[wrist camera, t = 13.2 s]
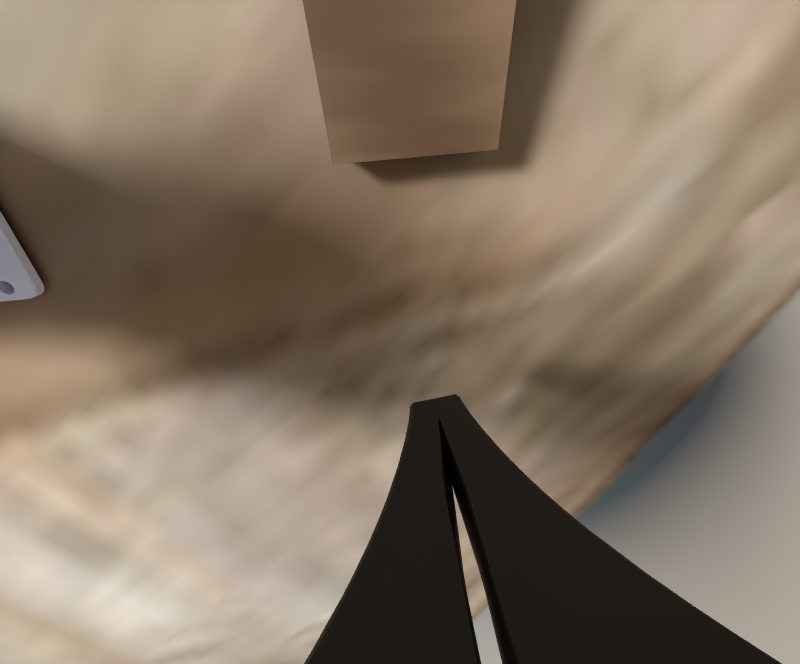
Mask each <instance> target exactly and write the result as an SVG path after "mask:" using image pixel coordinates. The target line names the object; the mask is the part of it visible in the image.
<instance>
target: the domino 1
mask: <svg viewBox="0 0 800 664" xmlns="http://www.w3.org/2000/svg"><path fill="white" fill-rule="evenodd" d="M303 4H304V10H305V15H306V21H307V26H308V31H309V37H310V42H311V48H312V53H313V59H314V64H315V69H316V75H317V80H318V86H319V91H320V97H321V102H322V107H323V113H324V118H325V124H326V129H327V134H328V140H329V145H330V151H331V156H332V162H333V165H334V164H345V163H356V162H367V161H378V160H389V159H401V158H412V157H423V156H434V155H445V154H456V153H468V152H479V151H490V150H498V145H499V137H500V129H501V121H502V113H503V105H504V97H505V88H506V80H507V72H508V64H509V56H510V48H511V40H512V32H513V23H514V15H515V7H516V0H303Z"/></svg>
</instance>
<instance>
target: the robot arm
mask: <svg viewBox="0 0 800 664" xmlns="http://www.w3.org/2000/svg"><path fill="white" fill-rule="evenodd" d="M9 283H10V284H11V285H12V286H13V288H14V289H13V288H12V287H11V286H10V285H9ZM43 292H44V286H43V283H42V281H41V279H40V277H39V276H38V274H37V272H36V271H35V269H34V267H33V266H32V264H31V262H30V261H29V259H28V257H27V256H26V254H25V252H24V250H23V249H22V247H21V245H20V244H19V242H18V240H17V239H16V237H15V235H14V234H13V232H12V230H11V228H10V227H9V225H8V223H7V222H6V220H5V218H4V217H3V215H2V213H1V212H0V301H11V300H22V299H30V298H33V297H36V296H39V295H41V294H42V293H43ZM452 486H453V488H452ZM453 489H454V492H455V495H456V499H457V502H458V505H459V508H460V511H461V514H462V517H463V521H464V524H465V527H466V530H467V533H468V536H469V539H470V542H471V546H472V549H473V552H474V555H475V558H476V561H477V564H478V568H479V571H480V574H481V578H482V582H483V585H484V589H485V592H486V597H487V601H488V605H489V609H490V613H491V617H492V621H493V626H494V630H495V634H496V638H497V643H498V647H499V651H500V655H501V659H502V664H781V663H780V662H779V661H777V660H775V659H774V658H772V657H771V656H769V655H768V654H766V653H764V652H763V651H761V650H760V649H758V648H757V647H755V646H754V645H752V644H750V643H749V642H747V641H746V640H744V639H742V638H741V637H739V636H738V635H736V634H735V633H733V632H732V631H730V630H729V629H727V628H726V627H724V626H723V625H721V624H720V623H718V622H717V621H715V620H714V619H712V618H711V617H709V616H708V615H706V614H705V613H703V612H702V611H700V610H699V609H697V608H696V607H694V606H693V605H691V604H690V603H688V602H687V601H686V600H684V599H683V598H681V597H680V596H678V595H677V594H675V593H674V592H673V591H671V590H670V589H668V588H667V587H665V586H664V585H663V584H661V583H660V582H658V581H657V580H655V579H654V578H652V577H651V576H650V575H648V574H647V573H645V572H644V571H643V570H641V569H640V568H639V567H637V566H636V565H635V564H633V563H632V562H631V561H629V560H628V559H627V558H625V557H624V556H623V555H621V554H620V553H619V552H617V551H616V550H615V549H613V548H612V547H611V546H609V545H608V544H607V543H605V542H604V541H603V540H601V539H600V538H599V537H597V536H596V535H595V534H593V533H592V532H591V531H589V530H588V529H587V528H586V527H585V526H583V525H582V524H581V523H580V522H578V521H577V520H576V519H575V518H574V517H572V516H571V515H570V514H569V513H568V512H566V511H565V510H564V509H563V508H562V507H560V506H559V505H558V504H557V503H556V502H555V501H554V500H552V499H551V498H550V497H549V496H548V495H547V494H546V493H544V492H543V491H542V490H541V489H540V488H539V487H538V486H537V485H536V484H535V483H534V482H532V481H531V480H530V479H529V478H528V477H527V476H526V475H525V474H524V473H523V472H522V471H521V470H520V469H519V468H518V467H517V466H516V465H515V464H514V463H513V462H512V461H511V460H510V459H509V458H508V457H507V456H506V455H505V454H504V453H503V452H502V450H501V449H500V448H499V447H498V446H497V445H496V444H495V443H494V442H493V440H492V439H491V438H490V437H489V436H488V435H487V434H486V433H485V431H484V430H483V429H482V428H481V427H480V425H479V424H478V423H477V421H476V420H475V419H474V418H473V416H472V415H471V414H470V412H469V411H468V410H467V408H466V407H465V405H464V404H463V402H462V400H461V399H460V397H459V396H457V395H450V396H445V397H440V398H435V399H430V400H425V401H420V402H415V403H413V404H412V405H411V406H410V415H409V423H408V428H407V433H406V438H405V442H404V446H403V449H402V453H401V457H400V461H399V464H398V468H397V471H396V474H395V477H394V480H393V483H392V485H391V488H390V491H389V494H388V497H387V500H386V502H385V505H384V508H383V510H382V513H381V515H380V518H379V520H378V523H377V525H376V527H375V530H374V532H373V534H372V537H371V539H370V541H369V543H368V545H367V547H366V550H365V552H364V554H363V556H362V558H361V560H360V562H359V564H358V566H357V568H356V571H355V573H354V575H353V577H352V579H351V581H350V582H349V584H348V586H347V588H346V590H345V592H344V594H343V596H342V598H341V600H340V601H339V603H338V605H337V607H336V609H335V610H334V612H333V614H332V616H331V618H330V619H329V621H328V623H327V625H326V626H325V628H324V630H323V632H322V634H321V635H320V637H319V639H318V641H317V643H316V644H315V646H314V648H313V650H312V651H311V653H310V655H309V656H308V658H307V660H306V662H305V663H304V664H481V661H480V656H479V651H478V646H477V641H476V636H475V631H474V626H473V621H472V616H471V611H470V606H469V602H468V597H467V591H466V585H465V579H464V573H463V565H462V557H461V550H460V542H459V534H458V526H457V519H456V511H455V503H454V495H453Z"/></svg>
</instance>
